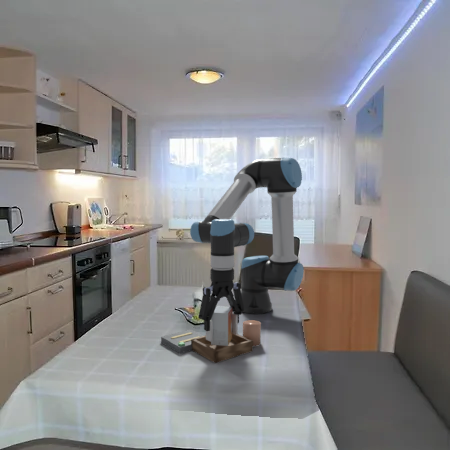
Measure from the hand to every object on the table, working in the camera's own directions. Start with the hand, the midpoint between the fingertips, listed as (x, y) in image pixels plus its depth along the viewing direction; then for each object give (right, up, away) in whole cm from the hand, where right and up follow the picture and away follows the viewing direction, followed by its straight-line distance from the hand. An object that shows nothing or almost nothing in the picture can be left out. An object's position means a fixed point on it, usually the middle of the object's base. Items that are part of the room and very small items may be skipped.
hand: (222, 336), depth 131 cm
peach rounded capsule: (+10, -4, +7) cm, 13 cm away
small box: (0, -2, 0) cm, 2 cm away
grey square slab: (-12, -4, +6) cm, 14 cm away
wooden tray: (0, -4, 0) cm, 4 cm away
